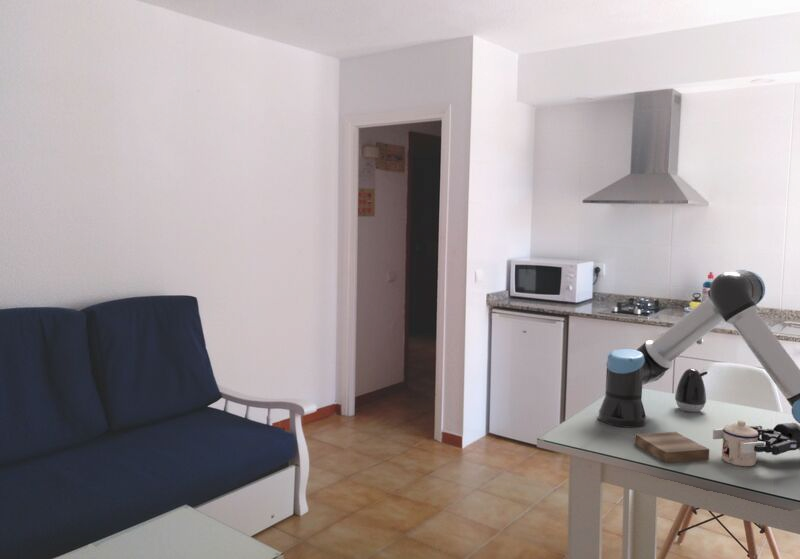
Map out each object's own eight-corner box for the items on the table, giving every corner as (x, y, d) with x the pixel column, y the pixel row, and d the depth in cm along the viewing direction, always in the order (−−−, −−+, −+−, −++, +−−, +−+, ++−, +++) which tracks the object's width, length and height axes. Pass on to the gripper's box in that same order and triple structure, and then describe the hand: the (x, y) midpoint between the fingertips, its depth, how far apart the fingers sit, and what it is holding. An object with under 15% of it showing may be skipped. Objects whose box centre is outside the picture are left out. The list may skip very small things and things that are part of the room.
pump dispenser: (711, 415, 231) (714, 372, 229) (681, 414, 231) (684, 371, 229) (698, 406, 241) (701, 365, 239) (669, 405, 241) (672, 365, 240)
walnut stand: (634, 444, 200) (635, 434, 200) (675, 441, 203) (675, 431, 203) (665, 462, 186) (666, 452, 185) (708, 459, 189) (709, 449, 189)
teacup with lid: (719, 453, 194) (722, 414, 193) (754, 458, 191) (757, 418, 189) (722, 467, 183) (726, 426, 182) (759, 473, 180) (763, 431, 178)
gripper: (826, 463, 180) (758, 469, 175) (761, 435, 202) (699, 439, 197) (828, 437, 179) (760, 442, 174) (763, 411, 201) (701, 415, 196)
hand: (727, 441), depth 185 cm, fingers closed on teacup with lid, 11 cm apart
